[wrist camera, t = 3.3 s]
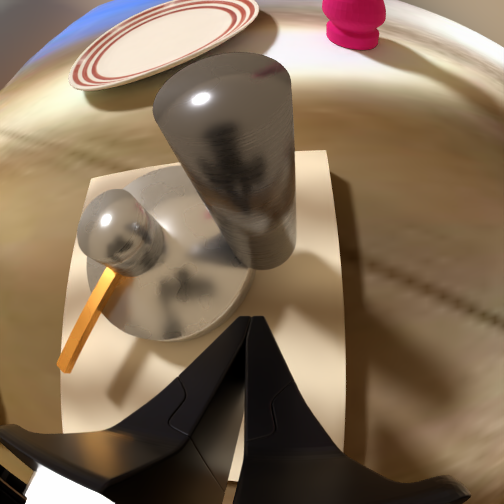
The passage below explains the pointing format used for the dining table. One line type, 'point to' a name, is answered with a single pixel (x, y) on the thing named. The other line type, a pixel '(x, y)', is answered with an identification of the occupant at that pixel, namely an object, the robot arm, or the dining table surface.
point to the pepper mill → (354, 22)
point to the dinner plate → (159, 41)
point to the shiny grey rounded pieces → (196, 207)
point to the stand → (255, 304)
